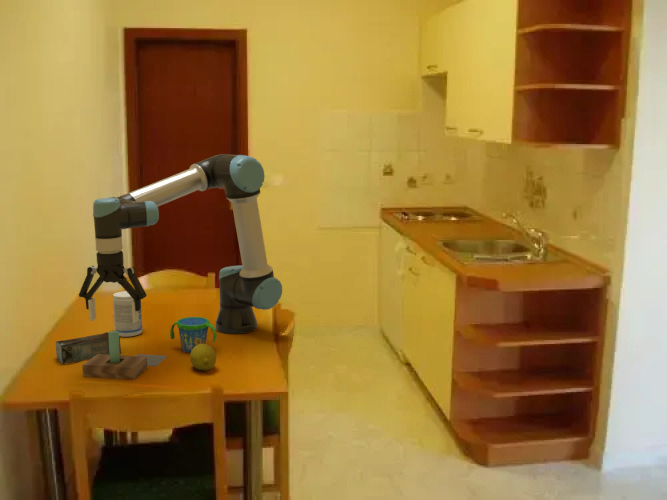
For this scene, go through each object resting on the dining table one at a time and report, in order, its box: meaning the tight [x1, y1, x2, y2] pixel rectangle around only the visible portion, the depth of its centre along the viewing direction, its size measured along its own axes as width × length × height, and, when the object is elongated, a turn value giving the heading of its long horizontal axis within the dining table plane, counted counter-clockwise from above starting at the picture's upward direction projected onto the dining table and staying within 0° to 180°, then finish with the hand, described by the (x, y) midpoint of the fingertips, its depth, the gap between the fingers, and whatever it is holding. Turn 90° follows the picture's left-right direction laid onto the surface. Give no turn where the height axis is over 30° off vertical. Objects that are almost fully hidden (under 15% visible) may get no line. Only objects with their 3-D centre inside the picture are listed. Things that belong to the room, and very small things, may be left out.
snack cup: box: [169, 316, 218, 354], centre depth 247 cm, size 16×10×10 cm
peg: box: [107, 330, 121, 364], centre depth 224 cm, size 3×3×13 cm
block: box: [82, 354, 148, 381], centre depth 225 cm, size 16×10×4 cm, turn 81°
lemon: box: [189, 343, 217, 372], centre depth 229 cm, size 11×8×8 cm
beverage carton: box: [55, 331, 122, 365], centre depth 240 cm, size 8×19×7 cm, turn 123°
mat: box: [136, 353, 168, 367], centre depth 236 cm, size 10×10×1 cm
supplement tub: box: [112, 290, 143, 338], centre depth 264 cm, size 10×10×15 cm
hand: (114, 320), depth 223 cm, fingers open, 13 cm apart
